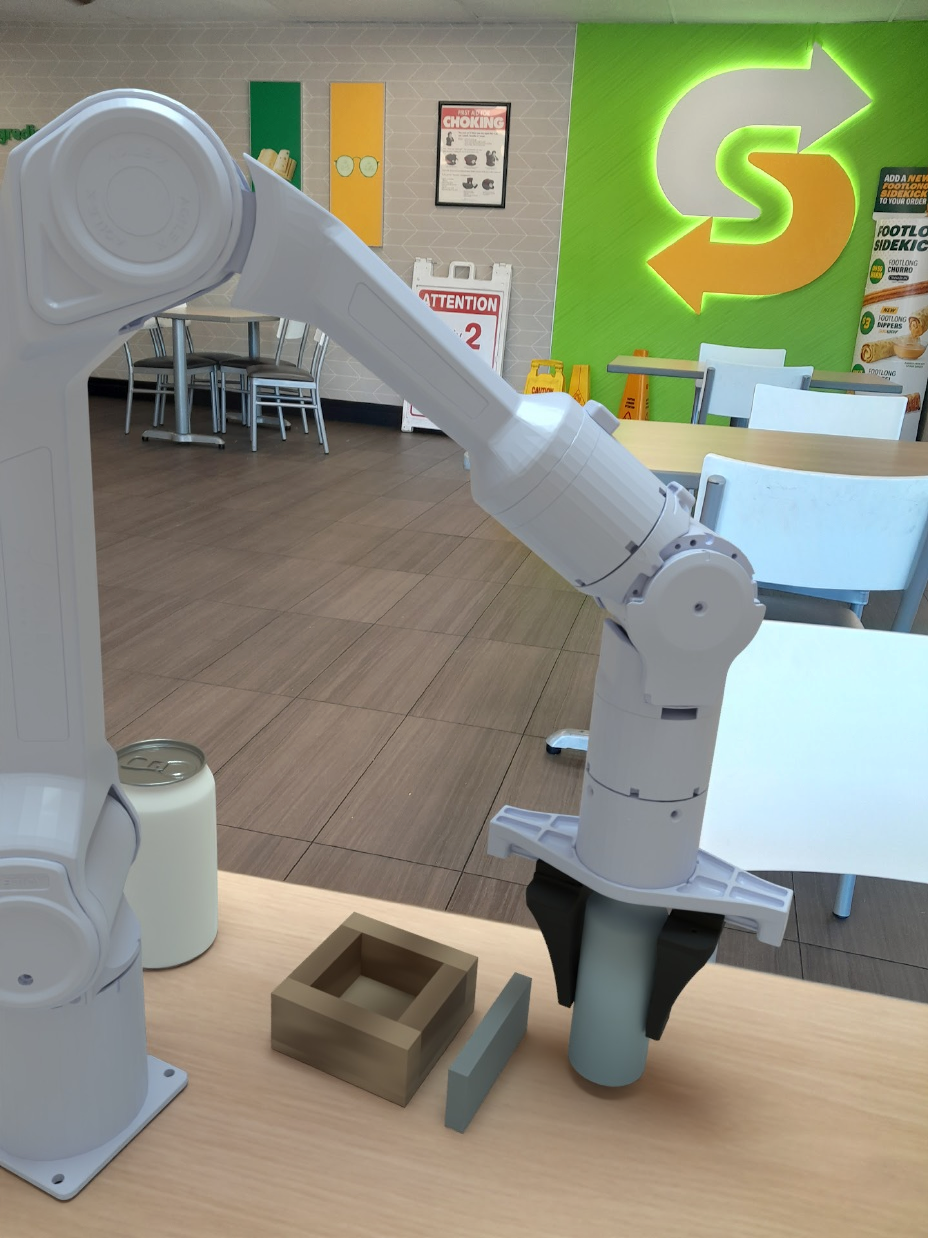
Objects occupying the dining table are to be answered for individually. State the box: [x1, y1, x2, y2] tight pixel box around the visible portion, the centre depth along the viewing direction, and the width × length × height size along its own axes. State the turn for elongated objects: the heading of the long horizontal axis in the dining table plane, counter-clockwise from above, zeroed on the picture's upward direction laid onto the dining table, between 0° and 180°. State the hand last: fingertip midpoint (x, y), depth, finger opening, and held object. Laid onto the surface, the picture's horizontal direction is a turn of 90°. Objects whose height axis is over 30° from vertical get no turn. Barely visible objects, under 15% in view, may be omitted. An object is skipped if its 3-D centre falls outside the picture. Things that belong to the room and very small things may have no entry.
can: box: [114, 738, 219, 970], centre depth 58 cm, size 6×6×12 cm
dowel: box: [567, 891, 669, 1087], centre depth 50 cm, size 4×4×9 cm
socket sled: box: [270, 911, 479, 1108], centre depth 53 cm, size 8×8×4 cm
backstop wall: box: [443, 971, 533, 1135], centre depth 51 cm, size 1×8×4 cm, turn 154°
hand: (613, 1010), depth 50 cm, fingers closed on dowel, 4 cm apart
